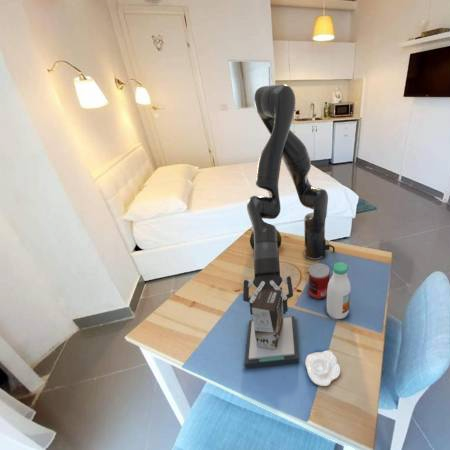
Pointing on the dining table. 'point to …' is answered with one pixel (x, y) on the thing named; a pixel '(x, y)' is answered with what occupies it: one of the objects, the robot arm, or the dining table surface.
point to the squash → (277, 239)
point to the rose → (322, 367)
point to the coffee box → (268, 318)
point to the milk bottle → (338, 292)
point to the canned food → (318, 280)
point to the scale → (269, 357)
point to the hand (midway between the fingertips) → (269, 315)
